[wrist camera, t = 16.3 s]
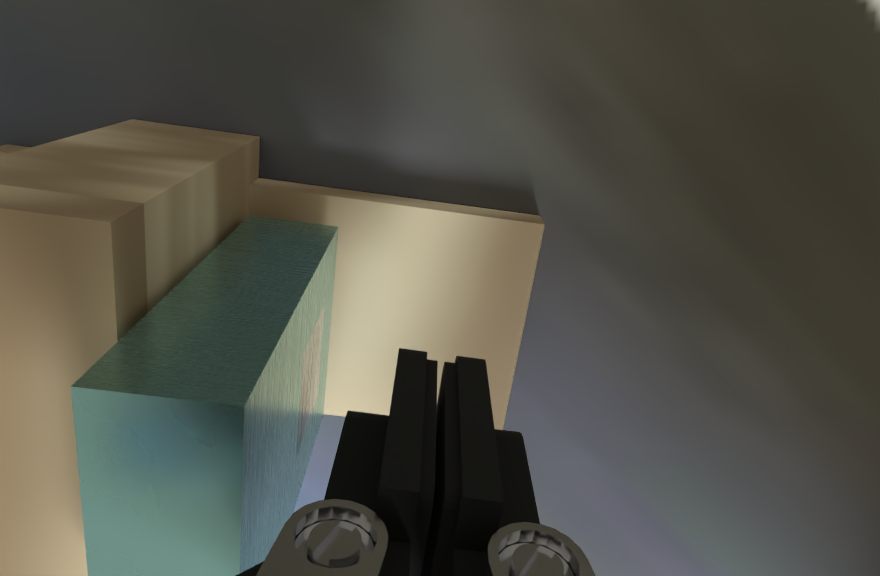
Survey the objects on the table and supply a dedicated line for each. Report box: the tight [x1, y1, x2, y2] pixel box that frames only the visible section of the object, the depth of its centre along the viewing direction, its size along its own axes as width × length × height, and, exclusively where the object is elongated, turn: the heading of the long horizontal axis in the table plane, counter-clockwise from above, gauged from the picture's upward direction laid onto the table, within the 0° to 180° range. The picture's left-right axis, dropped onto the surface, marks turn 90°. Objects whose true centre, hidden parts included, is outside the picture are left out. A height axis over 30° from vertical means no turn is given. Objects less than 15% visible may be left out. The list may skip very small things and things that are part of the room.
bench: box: [0, 119, 545, 576], centre depth 13 cm, size 13×8×7 cm, turn 82°
